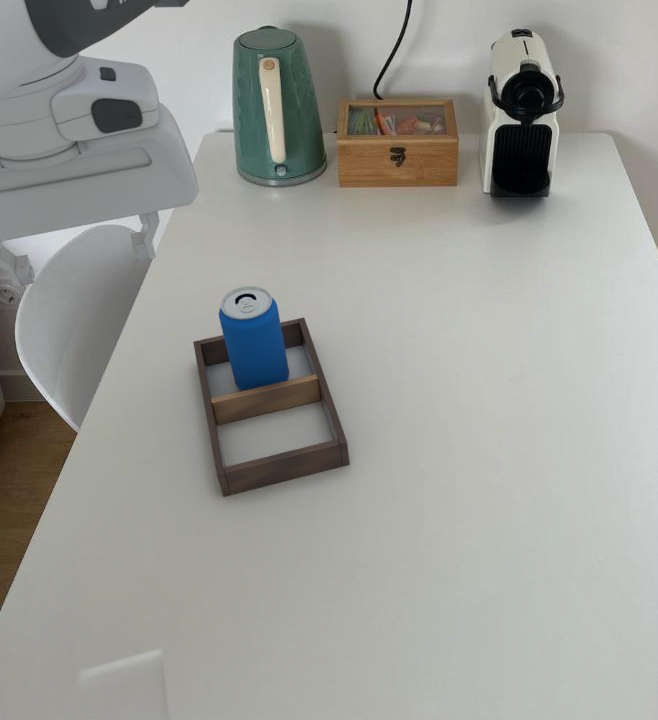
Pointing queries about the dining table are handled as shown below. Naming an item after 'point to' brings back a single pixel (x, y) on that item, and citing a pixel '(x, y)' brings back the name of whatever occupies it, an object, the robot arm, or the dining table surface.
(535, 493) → the dining table surface
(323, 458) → the tray
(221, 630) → the dining table surface
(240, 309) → the beverage can
